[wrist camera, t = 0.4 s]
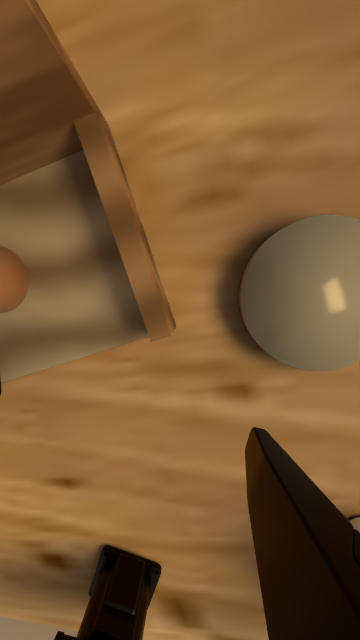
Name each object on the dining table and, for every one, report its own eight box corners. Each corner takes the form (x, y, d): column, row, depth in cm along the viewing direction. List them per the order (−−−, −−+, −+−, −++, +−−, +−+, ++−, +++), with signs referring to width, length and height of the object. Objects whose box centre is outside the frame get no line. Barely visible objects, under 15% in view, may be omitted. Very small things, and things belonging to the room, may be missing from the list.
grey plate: (350, 381, 22) (364, 391, 20) (219, 338, 22) (221, 344, 20) (411, 246, 20) (434, 242, 18) (267, 202, 20) (274, 193, 18)
